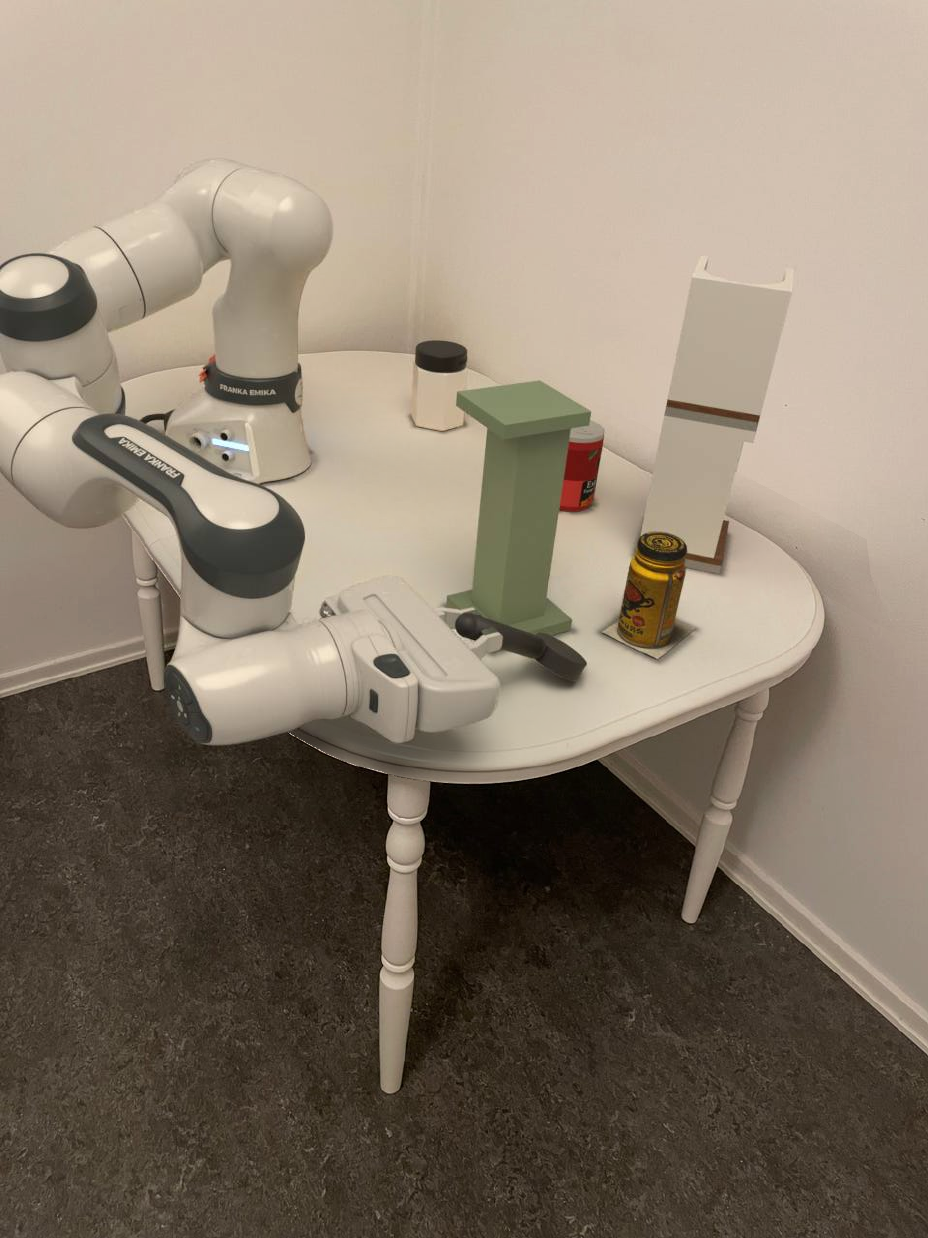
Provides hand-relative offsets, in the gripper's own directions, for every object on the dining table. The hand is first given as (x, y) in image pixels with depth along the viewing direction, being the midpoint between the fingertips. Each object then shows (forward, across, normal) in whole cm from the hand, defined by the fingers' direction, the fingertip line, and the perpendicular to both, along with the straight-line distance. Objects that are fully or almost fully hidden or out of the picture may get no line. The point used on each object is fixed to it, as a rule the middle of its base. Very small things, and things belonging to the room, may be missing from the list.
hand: (488, 627), depth 92 cm
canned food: (+34, -34, -8) cm, 48 cm away
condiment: (+24, -2, -8) cm, 25 cm away
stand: (+9, -11, -8) cm, 17 cm away
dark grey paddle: (+4, 0, -4) cm, 5 cm away
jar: (+31, -65, -8) cm, 73 cm away
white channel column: (+41, -17, -8) cm, 45 cm away
